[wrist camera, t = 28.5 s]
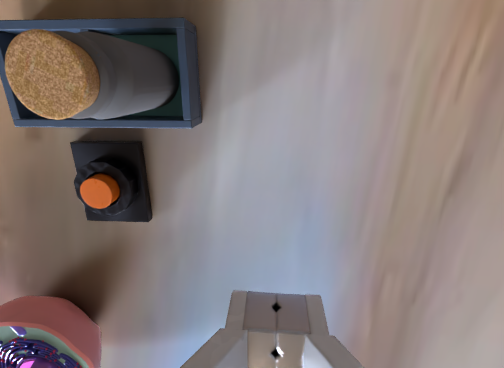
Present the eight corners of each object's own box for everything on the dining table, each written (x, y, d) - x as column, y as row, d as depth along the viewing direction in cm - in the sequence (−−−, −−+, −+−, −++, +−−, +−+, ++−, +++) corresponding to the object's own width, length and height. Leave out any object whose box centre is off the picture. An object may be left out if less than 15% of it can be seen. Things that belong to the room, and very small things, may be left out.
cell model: (-12, 268, 41) (-110, 333, 30) (124, 282, 40) (72, 354, 30) (13, 353, 47) (-62, 433, 36) (132, 366, 46) (91, 452, 36)
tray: (23, 28, 30) (-16, 20, 26) (196, 26, 29) (183, 17, 25) (45, 121, 33) (14, 127, 29) (201, 122, 32) (192, 128, 28)
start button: (86, 173, 32) (76, 178, 30) (117, 173, 32) (109, 178, 30) (92, 202, 33) (83, 208, 32) (122, 202, 33) (114, 209, 31)
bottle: (157, 119, 31) (63, 149, 17) (114, 79, 30) (-25, 77, 16) (191, 78, 29) (118, 74, 15) (146, 34, 28) (23, -12, 14)
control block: (76, 140, 34) (58, 145, 31) (142, 141, 33) (130, 146, 30) (92, 216, 37) (78, 227, 34) (152, 218, 36) (142, 229, 34)
